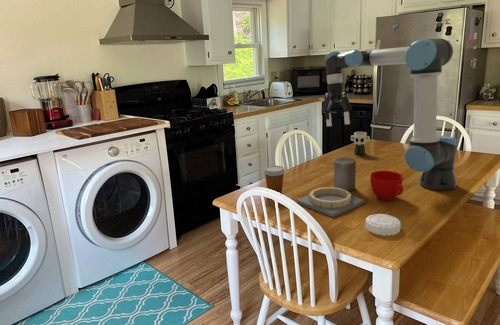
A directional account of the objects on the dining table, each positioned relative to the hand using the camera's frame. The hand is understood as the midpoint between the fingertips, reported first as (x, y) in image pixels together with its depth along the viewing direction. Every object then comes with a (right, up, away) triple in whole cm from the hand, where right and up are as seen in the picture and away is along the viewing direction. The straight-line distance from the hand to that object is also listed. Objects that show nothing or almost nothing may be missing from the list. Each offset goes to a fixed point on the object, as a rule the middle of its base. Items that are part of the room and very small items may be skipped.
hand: (338, 125), depth 195 cm
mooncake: (+3, -43, -57) cm, 72 cm away
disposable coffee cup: (-34, -33, -19) cm, 51 cm away
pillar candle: (-1, -31, -18) cm, 36 cm away
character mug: (+21, -14, +37) cm, 45 cm away
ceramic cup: (+14, -35, -32) cm, 49 cm away
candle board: (-11, -36, -33) cm, 51 cm away
